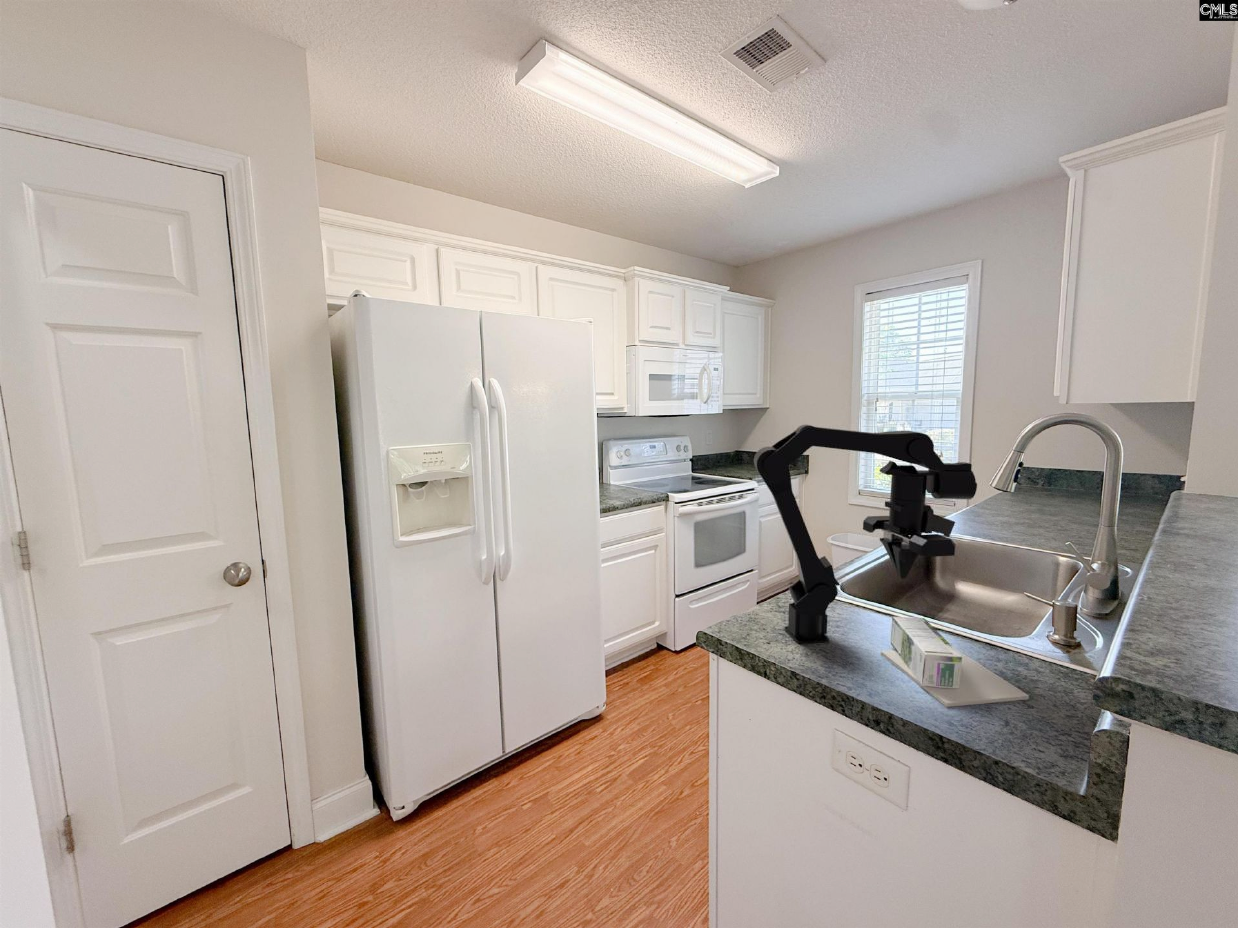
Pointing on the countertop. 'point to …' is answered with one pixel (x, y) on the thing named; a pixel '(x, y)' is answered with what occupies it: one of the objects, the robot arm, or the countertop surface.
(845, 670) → the countertop surface
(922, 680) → the syrup box
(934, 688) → the rubber mat
